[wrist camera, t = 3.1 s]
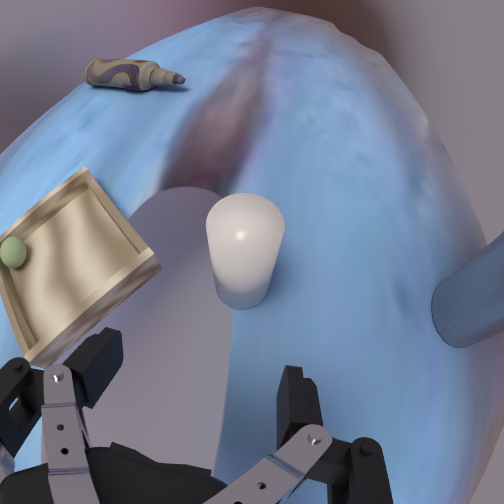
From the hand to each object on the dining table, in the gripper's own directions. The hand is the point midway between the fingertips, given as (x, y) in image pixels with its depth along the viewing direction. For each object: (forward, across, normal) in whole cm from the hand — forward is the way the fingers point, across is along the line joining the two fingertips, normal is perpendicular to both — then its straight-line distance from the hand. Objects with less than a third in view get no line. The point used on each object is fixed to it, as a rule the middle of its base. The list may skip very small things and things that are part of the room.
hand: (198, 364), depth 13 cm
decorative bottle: (+44, -30, +23) cm, 58 cm away
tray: (+16, -20, -4) cm, 26 cm away
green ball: (+14, -28, -5) cm, 32 cm away
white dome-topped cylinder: (+17, +1, -3) cm, 17 cm away
